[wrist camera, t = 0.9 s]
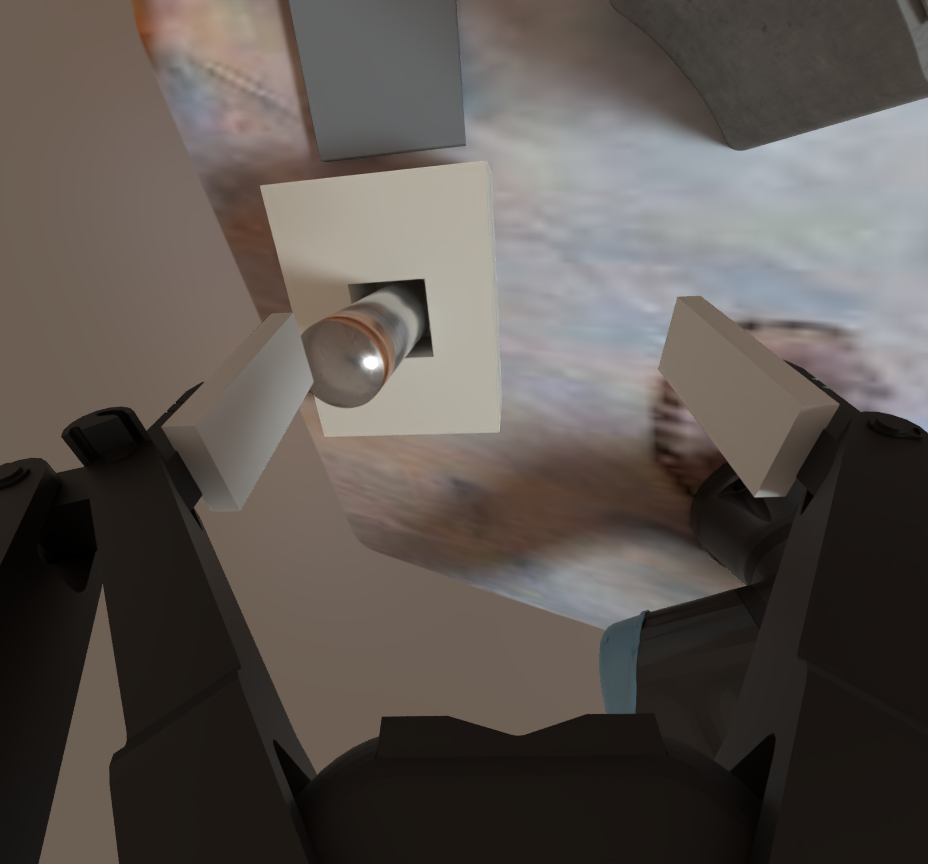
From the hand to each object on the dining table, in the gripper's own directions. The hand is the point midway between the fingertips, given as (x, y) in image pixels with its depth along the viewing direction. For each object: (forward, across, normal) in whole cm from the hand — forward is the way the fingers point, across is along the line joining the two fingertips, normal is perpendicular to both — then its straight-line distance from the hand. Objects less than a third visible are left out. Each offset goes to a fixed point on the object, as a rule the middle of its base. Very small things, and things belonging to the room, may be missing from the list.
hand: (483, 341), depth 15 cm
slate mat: (+29, +7, -11) cm, 32 cm away
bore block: (+26, +6, +8) cm, 27 cm away
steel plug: (+25, +6, +8) cm, 26 cm away
